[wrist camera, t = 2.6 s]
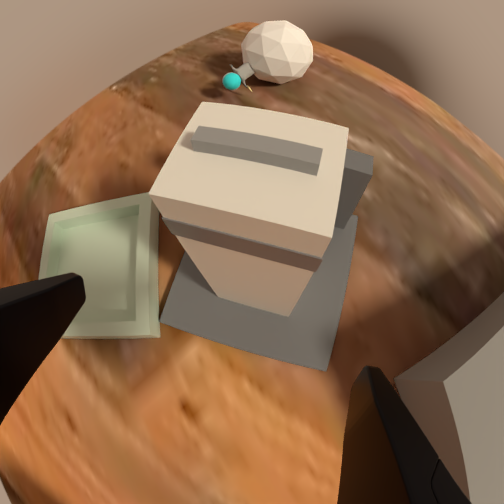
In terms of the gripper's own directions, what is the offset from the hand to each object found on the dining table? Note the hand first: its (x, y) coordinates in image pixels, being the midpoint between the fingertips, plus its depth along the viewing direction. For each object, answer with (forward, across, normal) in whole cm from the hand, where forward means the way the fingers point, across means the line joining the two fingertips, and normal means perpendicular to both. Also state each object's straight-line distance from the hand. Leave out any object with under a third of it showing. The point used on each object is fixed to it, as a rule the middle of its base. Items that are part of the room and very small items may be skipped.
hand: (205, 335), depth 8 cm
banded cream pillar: (+12, 0, +5) cm, 12 cm away
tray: (+10, +13, +7) cm, 18 cm away
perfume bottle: (+28, +6, -11) cm, 31 cm away
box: (+9, -34, +9) cm, 36 cm away
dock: (+13, 0, +4) cm, 13 cm away
